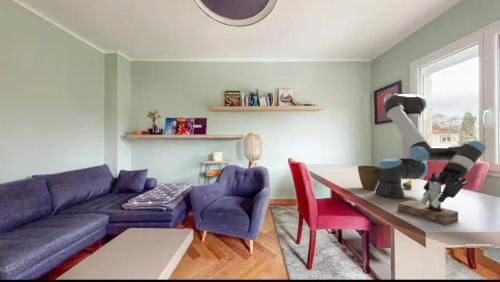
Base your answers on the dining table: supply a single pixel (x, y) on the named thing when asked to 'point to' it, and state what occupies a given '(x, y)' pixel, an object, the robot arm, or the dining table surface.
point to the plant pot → (369, 176)
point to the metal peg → (434, 195)
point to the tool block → (428, 212)
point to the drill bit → (407, 185)
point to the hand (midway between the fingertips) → (427, 204)
